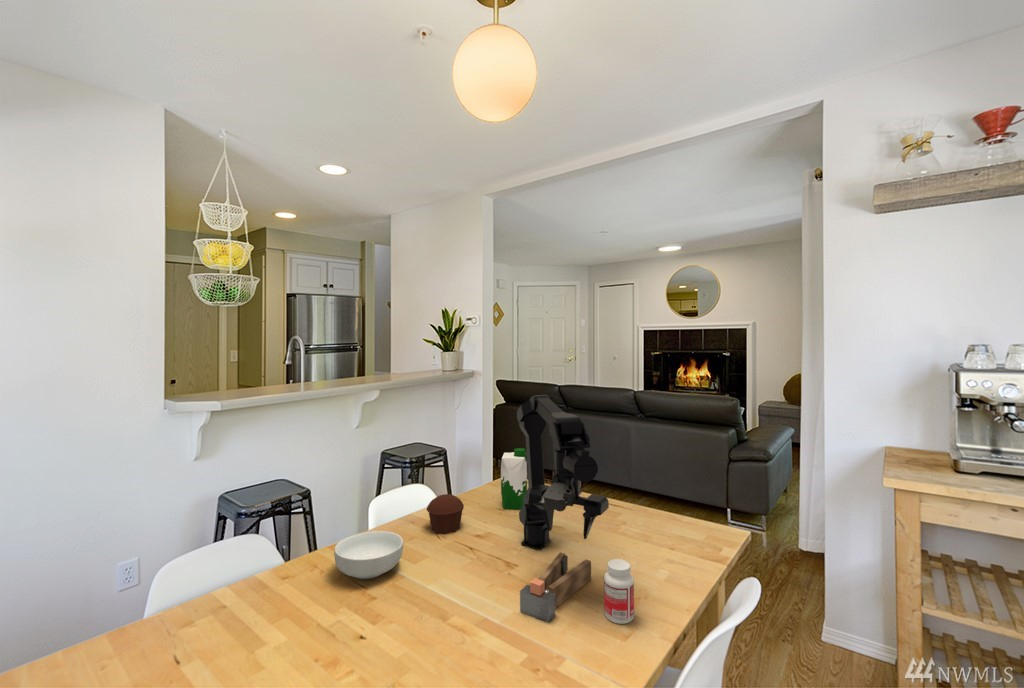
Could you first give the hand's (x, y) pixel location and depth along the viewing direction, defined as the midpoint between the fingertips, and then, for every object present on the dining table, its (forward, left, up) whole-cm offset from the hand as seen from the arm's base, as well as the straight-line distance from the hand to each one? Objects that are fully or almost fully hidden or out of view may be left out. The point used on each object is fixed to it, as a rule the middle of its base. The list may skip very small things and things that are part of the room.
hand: (567, 534), depth 109 cm
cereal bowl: (-45, -21, -12) cm, 52 cm away
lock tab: (0, -14, -8) cm, 16 cm away
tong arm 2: (+2, -3, -12) cm, 12 cm away
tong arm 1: (-3, -3, -12) cm, 13 cm away
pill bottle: (+15, -5, -12) cm, 20 cm away
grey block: (0, -14, -12) cm, 18 cm away
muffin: (-46, +9, -12) cm, 49 cm away
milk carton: (-38, +36, -12) cm, 54 cm away
